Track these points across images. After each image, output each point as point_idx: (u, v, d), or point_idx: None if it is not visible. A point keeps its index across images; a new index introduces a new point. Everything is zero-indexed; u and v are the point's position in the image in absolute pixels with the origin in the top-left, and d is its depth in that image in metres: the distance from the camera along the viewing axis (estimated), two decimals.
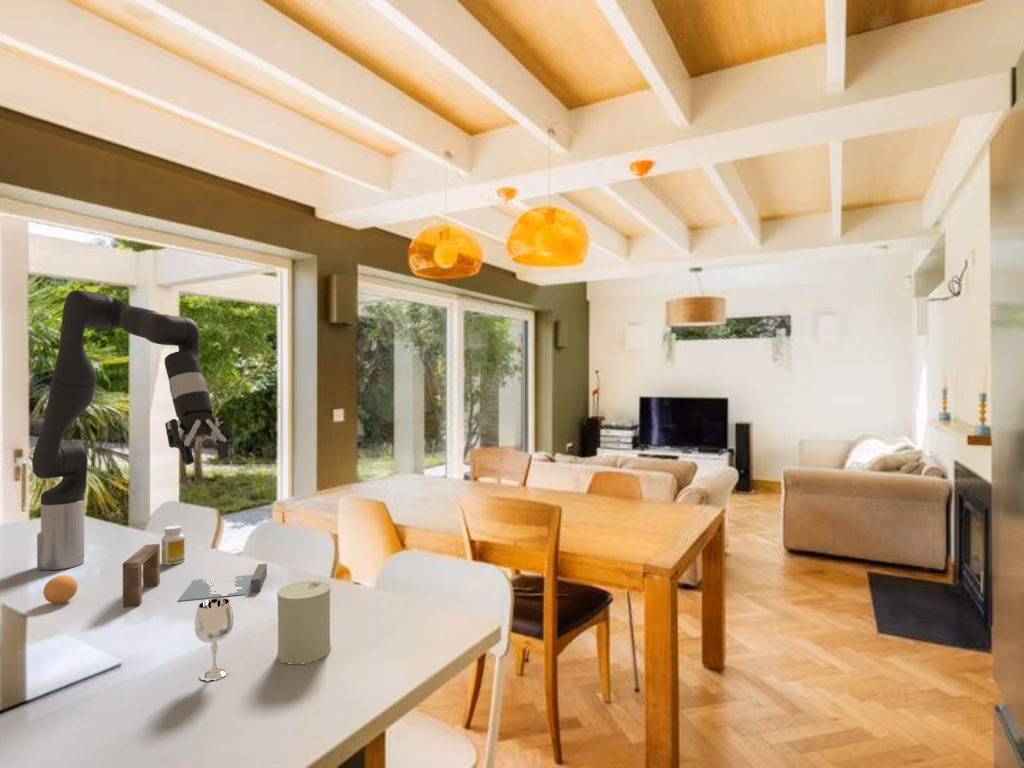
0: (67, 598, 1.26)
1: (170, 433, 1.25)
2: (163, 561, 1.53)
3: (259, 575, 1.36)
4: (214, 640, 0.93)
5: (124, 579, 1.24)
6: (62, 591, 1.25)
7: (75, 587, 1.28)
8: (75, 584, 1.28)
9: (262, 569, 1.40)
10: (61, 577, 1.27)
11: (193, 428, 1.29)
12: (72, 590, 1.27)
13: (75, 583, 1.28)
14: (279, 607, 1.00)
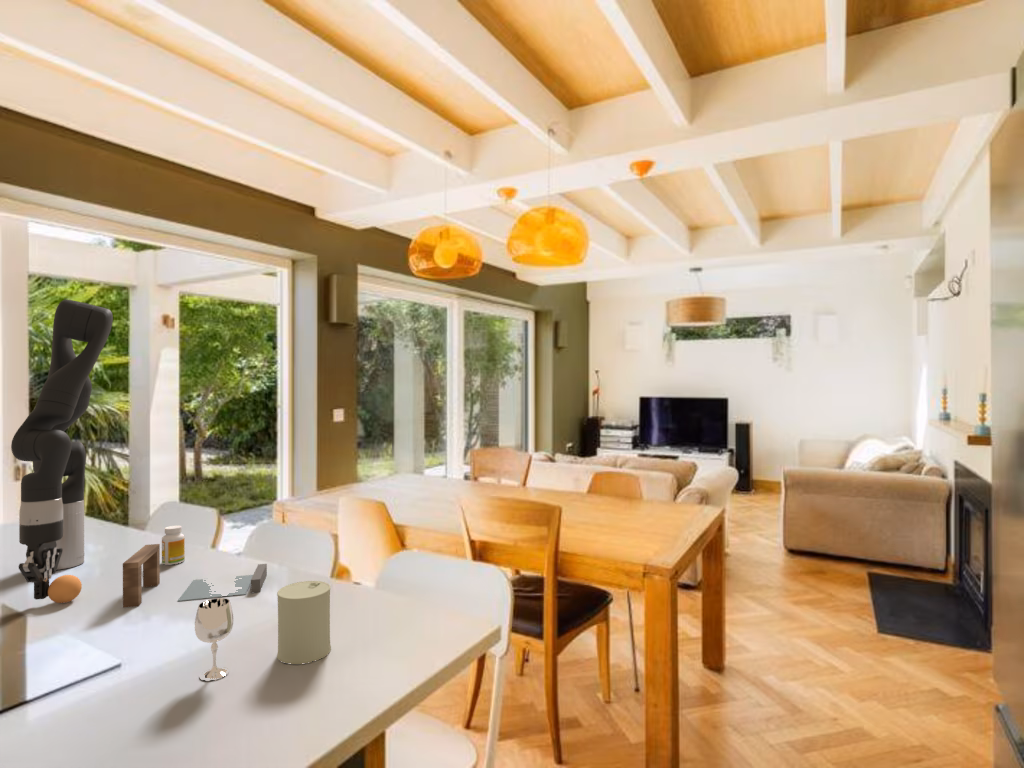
0: (70, 599, 1.26)
1: None
2: (163, 561, 1.53)
3: (259, 575, 1.36)
4: (214, 640, 0.93)
5: (124, 579, 1.24)
6: (66, 591, 1.25)
7: (79, 588, 1.28)
8: (80, 585, 1.28)
9: (262, 569, 1.40)
10: (67, 577, 1.27)
11: None
12: (77, 591, 1.27)
13: (80, 584, 1.28)
14: (279, 607, 1.00)
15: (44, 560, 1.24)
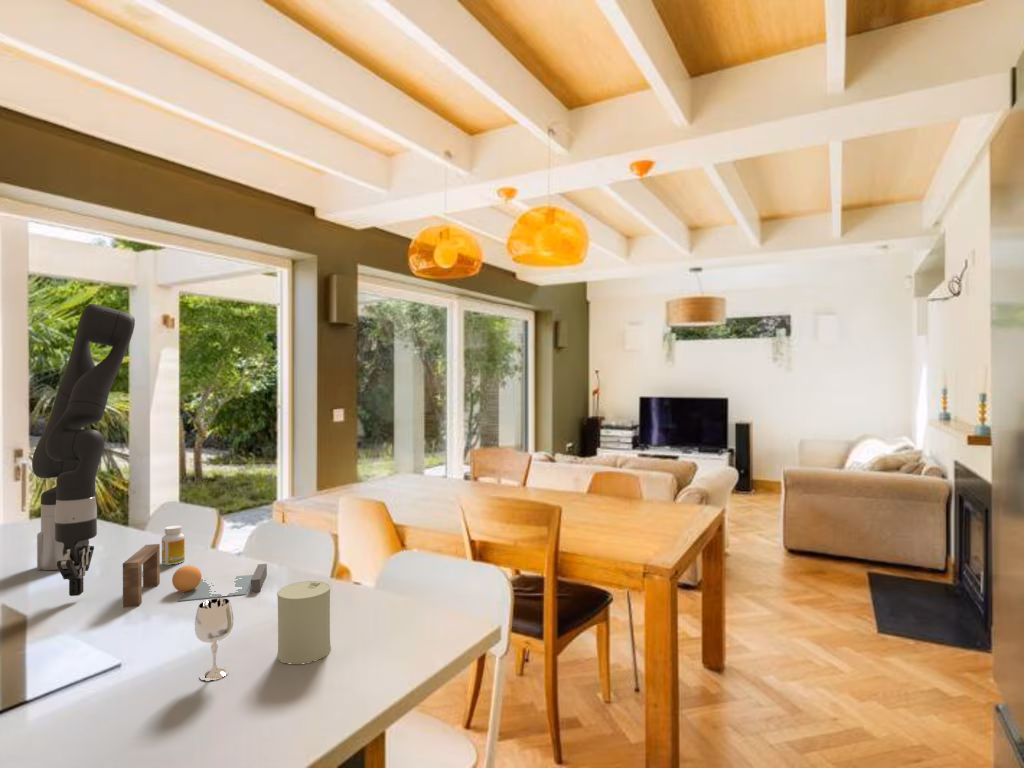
0: (175, 587, 1.32)
1: None
2: (163, 561, 1.53)
3: (259, 575, 1.36)
4: (214, 640, 0.93)
5: (124, 579, 1.24)
6: (183, 588, 1.32)
7: None
8: None
9: (262, 569, 1.40)
10: (198, 582, 1.34)
11: None
12: (183, 591, 1.33)
13: None
14: (279, 607, 1.00)
15: (79, 557, 1.27)
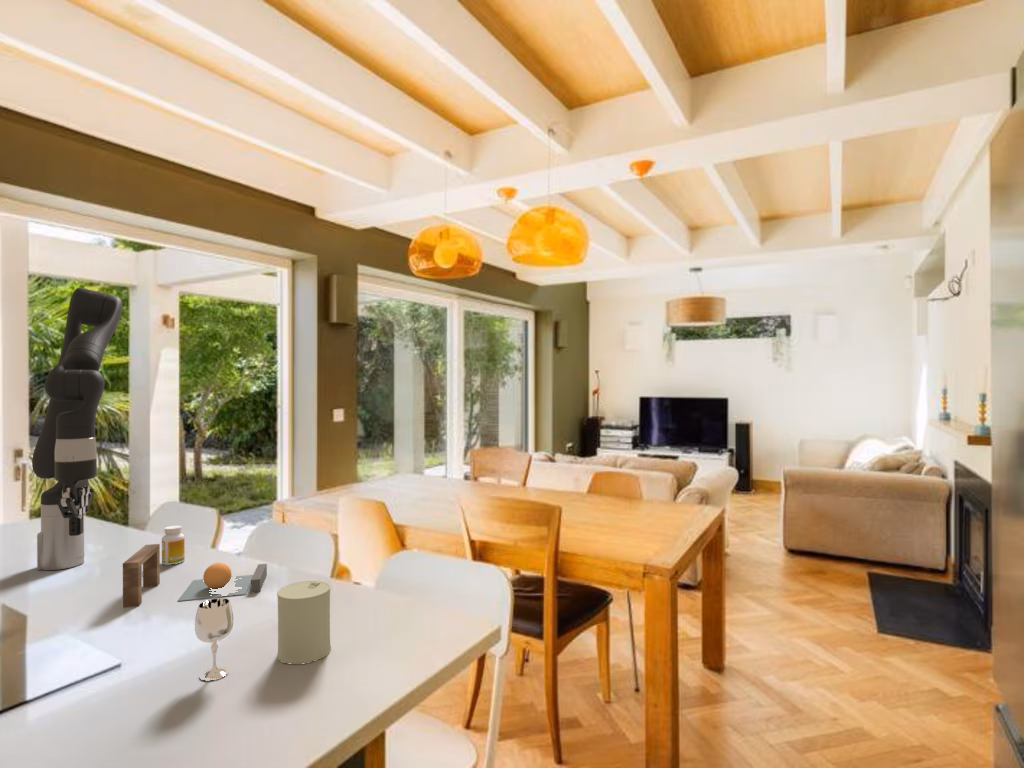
0: (215, 566, 1.35)
1: None
2: (163, 561, 1.53)
3: (259, 575, 1.36)
4: (214, 640, 0.93)
5: (124, 579, 1.24)
6: (209, 575, 1.33)
7: None
8: (205, 570, 1.35)
9: (262, 569, 1.40)
10: None
11: None
12: (207, 569, 1.34)
13: (205, 571, 1.35)
14: (279, 607, 1.00)
15: (79, 497, 1.27)
